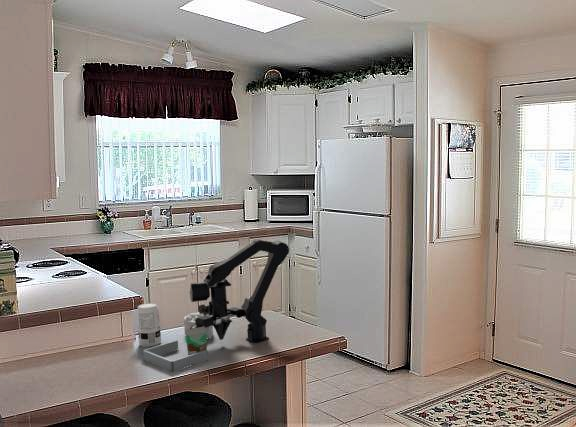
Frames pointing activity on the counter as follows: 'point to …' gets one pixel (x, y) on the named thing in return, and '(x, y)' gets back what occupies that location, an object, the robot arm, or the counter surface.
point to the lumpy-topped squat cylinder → (190, 322)
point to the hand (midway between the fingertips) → (221, 339)
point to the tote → (154, 358)
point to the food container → (196, 339)
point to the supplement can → (148, 325)
